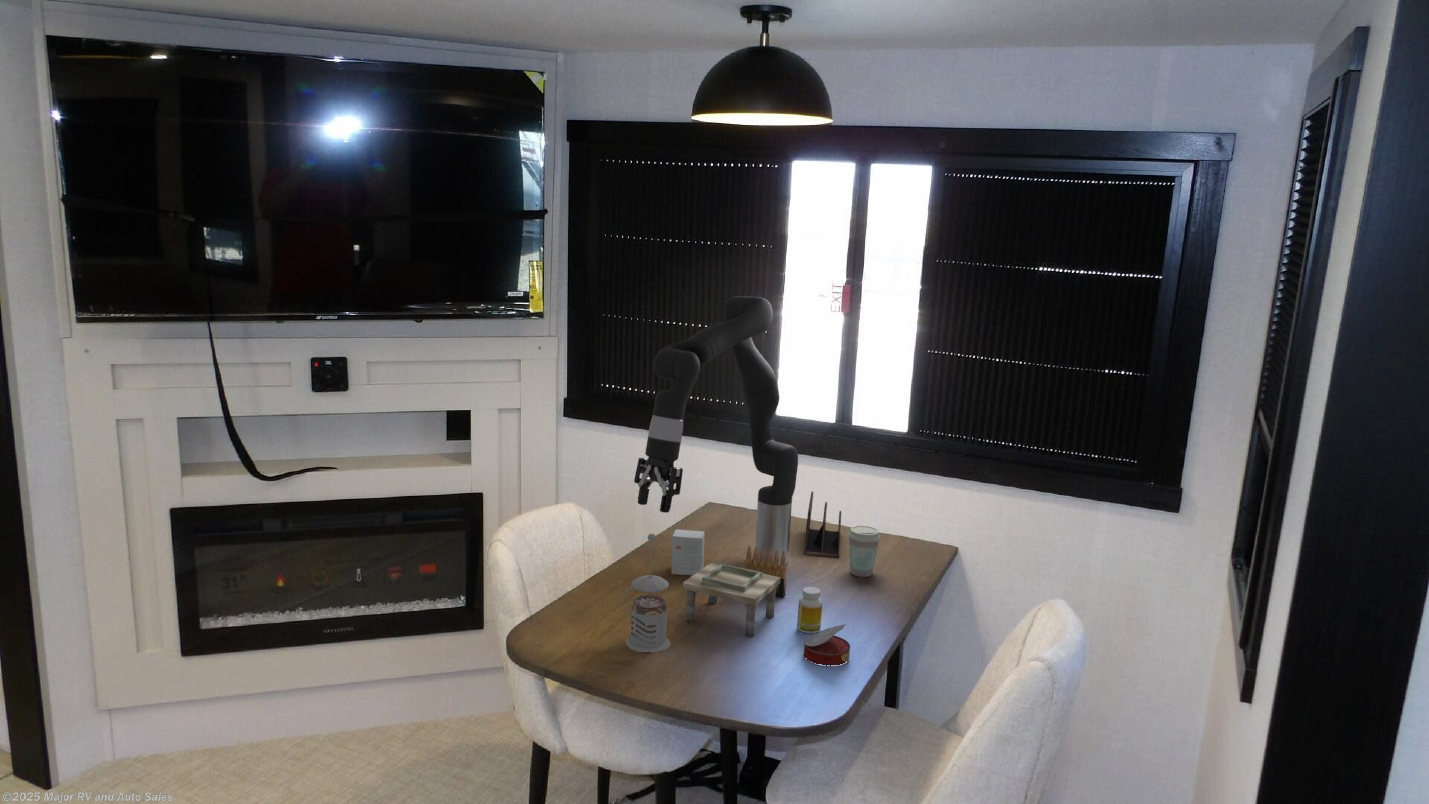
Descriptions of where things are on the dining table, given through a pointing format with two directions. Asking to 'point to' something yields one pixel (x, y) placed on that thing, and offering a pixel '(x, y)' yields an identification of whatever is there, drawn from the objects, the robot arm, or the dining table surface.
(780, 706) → the dining table surface
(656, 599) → the french press
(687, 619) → the miniature tray table
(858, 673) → the dining table surface
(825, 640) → the canned food
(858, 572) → the coffee cup
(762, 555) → the ammunition clip
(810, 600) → the supplement bottle
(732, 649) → the dining table surface
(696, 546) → the small box
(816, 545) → the letter holder
